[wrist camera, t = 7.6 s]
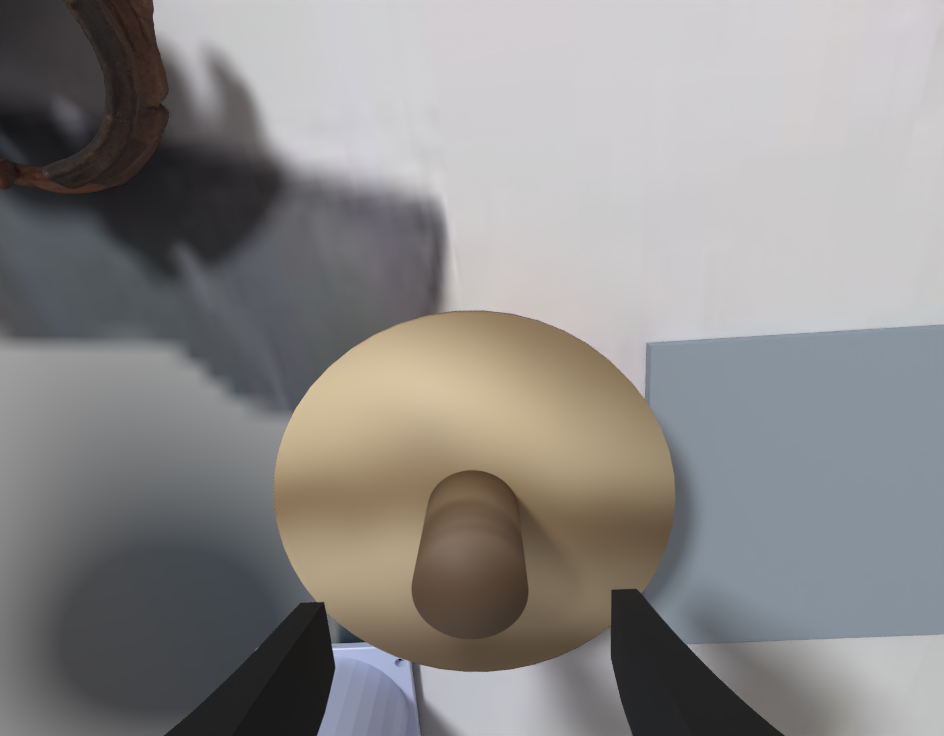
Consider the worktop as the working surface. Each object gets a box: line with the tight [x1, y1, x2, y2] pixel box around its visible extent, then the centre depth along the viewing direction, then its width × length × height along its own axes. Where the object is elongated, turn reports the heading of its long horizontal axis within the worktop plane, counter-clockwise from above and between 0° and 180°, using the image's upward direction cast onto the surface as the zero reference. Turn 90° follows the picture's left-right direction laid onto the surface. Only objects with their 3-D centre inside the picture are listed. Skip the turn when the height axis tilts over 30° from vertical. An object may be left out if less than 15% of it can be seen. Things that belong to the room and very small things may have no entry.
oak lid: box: [274, 311, 675, 672], centre depth 16 cm, size 14×14×5 cm
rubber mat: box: [641, 325, 944, 644], centre depth 22 cm, size 15×15×1 cm
